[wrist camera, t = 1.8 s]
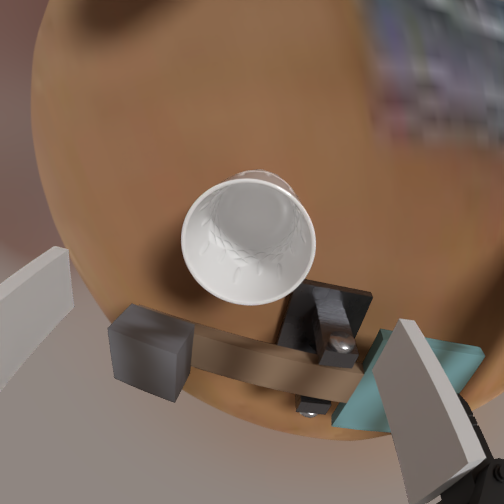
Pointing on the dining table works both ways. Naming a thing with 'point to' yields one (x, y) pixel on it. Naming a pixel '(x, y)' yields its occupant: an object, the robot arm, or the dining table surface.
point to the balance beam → (260, 364)
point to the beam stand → (323, 329)
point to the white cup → (249, 239)
